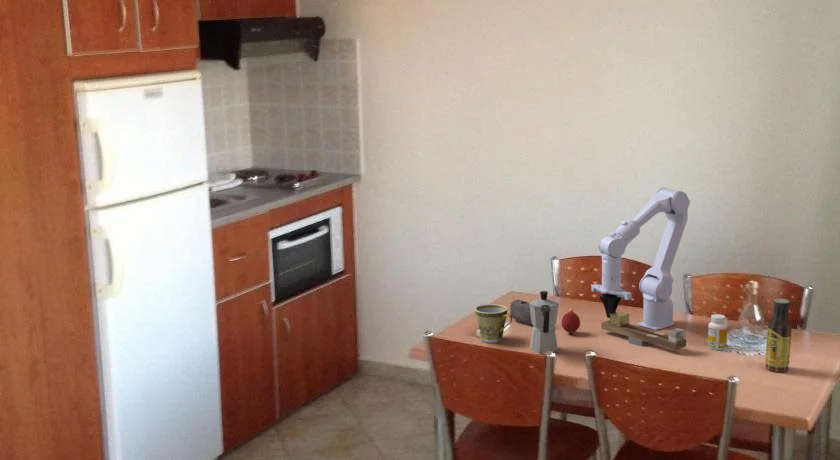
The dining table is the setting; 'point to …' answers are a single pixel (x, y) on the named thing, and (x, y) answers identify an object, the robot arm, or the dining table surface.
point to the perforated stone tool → (521, 311)
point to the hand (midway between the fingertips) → (610, 317)
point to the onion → (570, 322)
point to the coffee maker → (543, 324)
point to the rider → (619, 318)
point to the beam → (648, 335)
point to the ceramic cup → (491, 322)
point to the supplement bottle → (717, 332)
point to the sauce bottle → (779, 338)
